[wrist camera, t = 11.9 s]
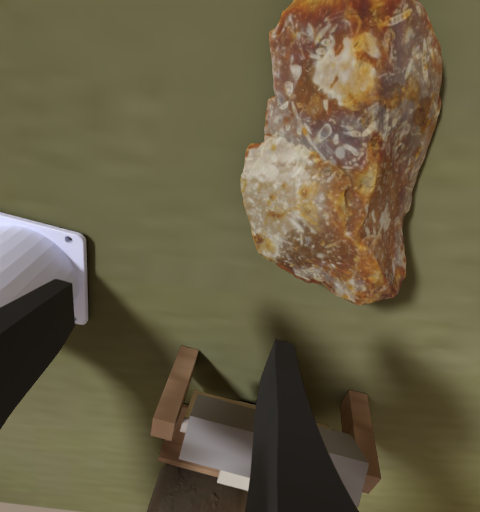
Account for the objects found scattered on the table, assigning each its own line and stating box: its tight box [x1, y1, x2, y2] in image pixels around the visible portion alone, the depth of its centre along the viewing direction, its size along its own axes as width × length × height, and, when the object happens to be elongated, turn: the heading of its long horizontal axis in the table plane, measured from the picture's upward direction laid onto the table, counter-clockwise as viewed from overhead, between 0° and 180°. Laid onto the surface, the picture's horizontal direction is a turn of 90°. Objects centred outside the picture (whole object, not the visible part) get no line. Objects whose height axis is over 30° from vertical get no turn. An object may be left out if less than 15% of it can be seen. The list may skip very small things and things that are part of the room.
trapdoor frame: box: [151, 346, 381, 494], centre depth 29 cm, size 15×14×6 cm
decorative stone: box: [240, 0, 443, 305], centre depth 17 cm, size 10×4×15 cm
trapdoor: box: [179, 390, 369, 507], centre depth 25 cm, size 11×10×3 cm
